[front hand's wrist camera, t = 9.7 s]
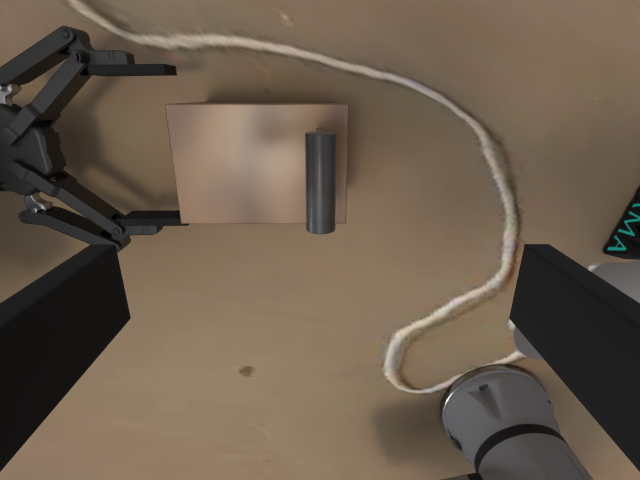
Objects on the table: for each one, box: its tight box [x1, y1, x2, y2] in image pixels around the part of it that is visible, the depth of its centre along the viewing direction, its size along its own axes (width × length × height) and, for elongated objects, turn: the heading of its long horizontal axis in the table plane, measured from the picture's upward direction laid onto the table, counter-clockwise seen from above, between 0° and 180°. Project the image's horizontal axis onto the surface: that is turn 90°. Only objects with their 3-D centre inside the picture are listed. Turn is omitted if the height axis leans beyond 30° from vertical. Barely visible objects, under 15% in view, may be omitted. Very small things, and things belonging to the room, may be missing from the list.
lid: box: [165, 104, 349, 234], centre depth 29 cm, size 15×10×9 cm
